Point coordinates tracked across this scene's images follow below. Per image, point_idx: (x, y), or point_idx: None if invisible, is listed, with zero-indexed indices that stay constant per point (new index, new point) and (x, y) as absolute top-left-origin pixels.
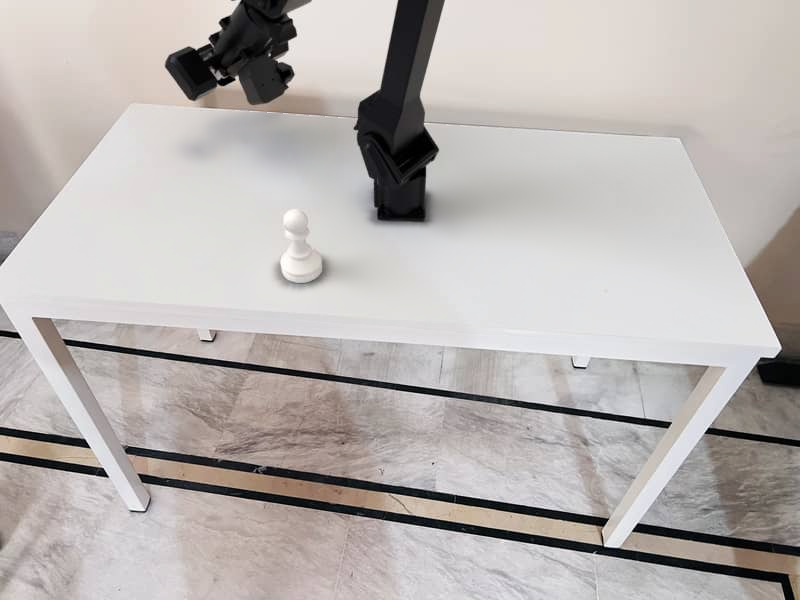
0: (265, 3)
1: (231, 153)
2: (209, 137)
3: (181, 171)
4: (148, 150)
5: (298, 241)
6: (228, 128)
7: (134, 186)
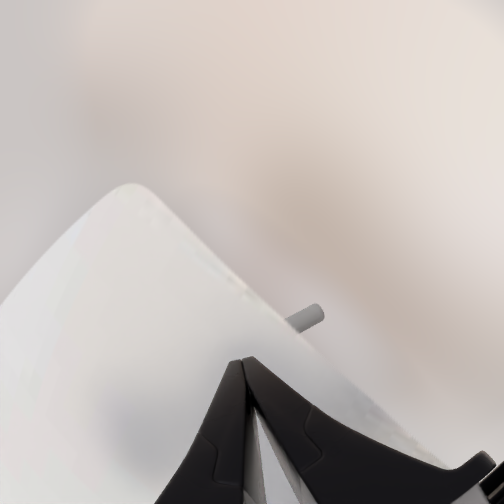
0: None
1: None
2: (182, 412)
3: (82, 468)
4: (58, 356)
5: None
6: None
7: (15, 432)
